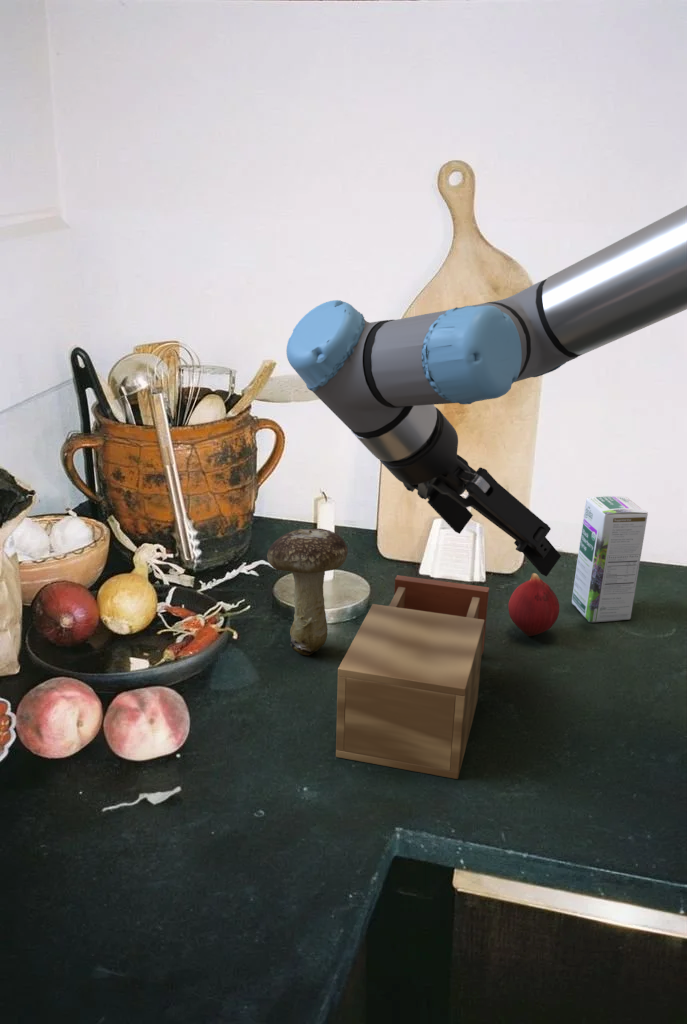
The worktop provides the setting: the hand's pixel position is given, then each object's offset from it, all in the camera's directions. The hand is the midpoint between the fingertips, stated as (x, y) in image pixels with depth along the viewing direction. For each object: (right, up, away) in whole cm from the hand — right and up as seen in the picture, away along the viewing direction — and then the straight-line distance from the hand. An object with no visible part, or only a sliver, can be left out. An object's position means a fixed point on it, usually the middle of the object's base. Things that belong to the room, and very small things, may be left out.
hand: (505, 543), depth 104 cm
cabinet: (-11, -18, -11) cm, 24 cm away
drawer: (-8, -13, 0) cm, 15 cm away
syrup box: (+14, -9, +14) cm, 22 cm away
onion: (+4, -11, +8) cm, 14 cm away
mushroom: (-22, -13, +3) cm, 26 cm away
